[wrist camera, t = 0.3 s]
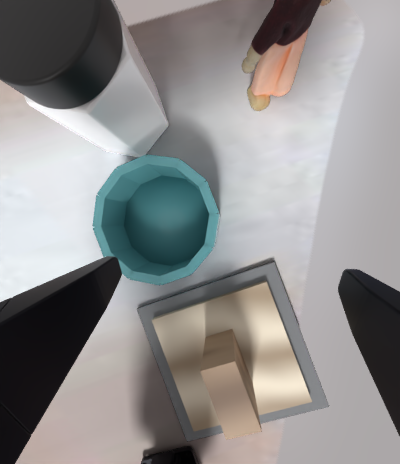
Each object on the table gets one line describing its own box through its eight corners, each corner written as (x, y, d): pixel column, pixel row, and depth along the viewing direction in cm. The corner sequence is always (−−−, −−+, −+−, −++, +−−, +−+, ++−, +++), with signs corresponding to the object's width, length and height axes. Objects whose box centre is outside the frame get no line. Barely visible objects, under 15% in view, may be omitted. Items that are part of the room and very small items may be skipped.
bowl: (233, 250, 22) (236, 258, 17) (142, 283, 23) (120, 299, 18) (197, 155, 22) (189, 134, 17) (108, 193, 23) (76, 185, 18)
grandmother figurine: (260, 128, 21) (317, -16, 8) (232, 105, 21) (244, -68, 9) (312, 64, 20) (462, -201, 8) (282, 42, 20) (378, -253, 8)
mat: (327, 403, 21) (329, 406, 21) (187, 437, 23) (187, 441, 23) (273, 261, 21) (274, 262, 21) (138, 307, 23) (136, 309, 23)
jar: (176, 87, 22) (119, -78, 10) (162, 163, 22) (92, 94, 10) (99, 77, 23) (-38, -86, 11) (87, 150, 23) (-56, 73, 11)
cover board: (309, 396, 21) (340, 459, 16) (194, 426, 23) (185, 491, 17) (265, 280, 21) (280, 300, 16) (153, 317, 23) (130, 348, 17)
